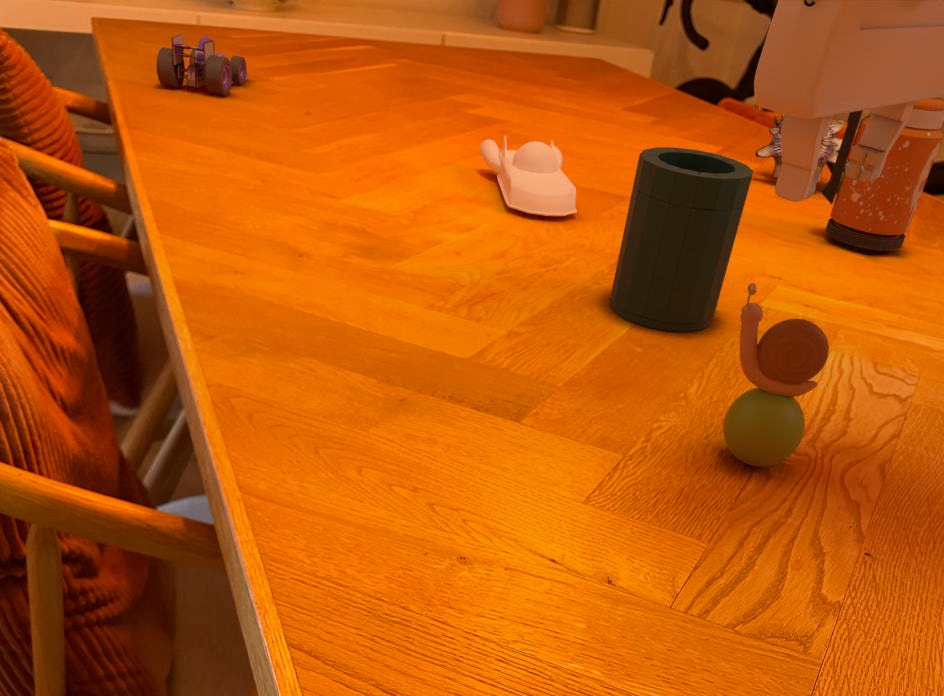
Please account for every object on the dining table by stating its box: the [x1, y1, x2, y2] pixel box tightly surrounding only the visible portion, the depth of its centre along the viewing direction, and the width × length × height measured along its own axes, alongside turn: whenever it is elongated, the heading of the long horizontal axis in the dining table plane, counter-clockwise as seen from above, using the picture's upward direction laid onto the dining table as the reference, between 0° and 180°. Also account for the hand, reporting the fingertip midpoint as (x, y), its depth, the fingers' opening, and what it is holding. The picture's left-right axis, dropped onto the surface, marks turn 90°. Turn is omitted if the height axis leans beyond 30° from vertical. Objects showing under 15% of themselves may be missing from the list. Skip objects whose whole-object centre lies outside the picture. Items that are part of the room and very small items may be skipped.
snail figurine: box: [722, 282, 830, 468], centre depth 67 cm, size 5×6×12 cm
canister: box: [820, 97, 944, 254], centre depth 112 cm, size 9×11×20 cm
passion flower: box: [754, 114, 848, 192], centre depth 137 cm, size 11×11×12 cm
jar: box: [609, 146, 754, 333], centre depth 88 cm, size 10×10×13 cm
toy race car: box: [156, 34, 249, 97], centre depth 144 cm, size 10×15×6 cm, turn 170°
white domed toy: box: [479, 135, 578, 217], centre depth 117 cm, size 10×20×6 cm, turn 6°
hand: (827, 188), depth 59 cm, fingers open, 8 cm apart
